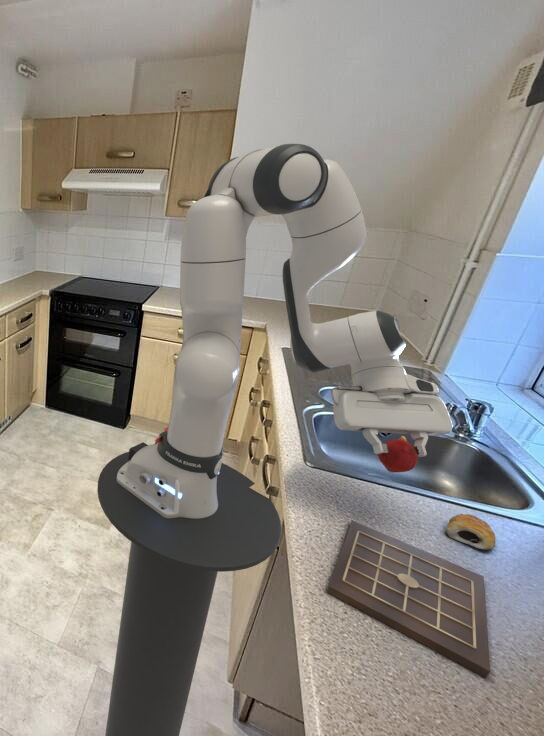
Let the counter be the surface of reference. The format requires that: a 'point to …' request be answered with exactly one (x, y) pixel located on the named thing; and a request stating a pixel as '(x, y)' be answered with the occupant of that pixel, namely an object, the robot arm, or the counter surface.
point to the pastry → (471, 531)
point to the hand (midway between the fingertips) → (401, 455)
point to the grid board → (415, 594)
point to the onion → (399, 456)
